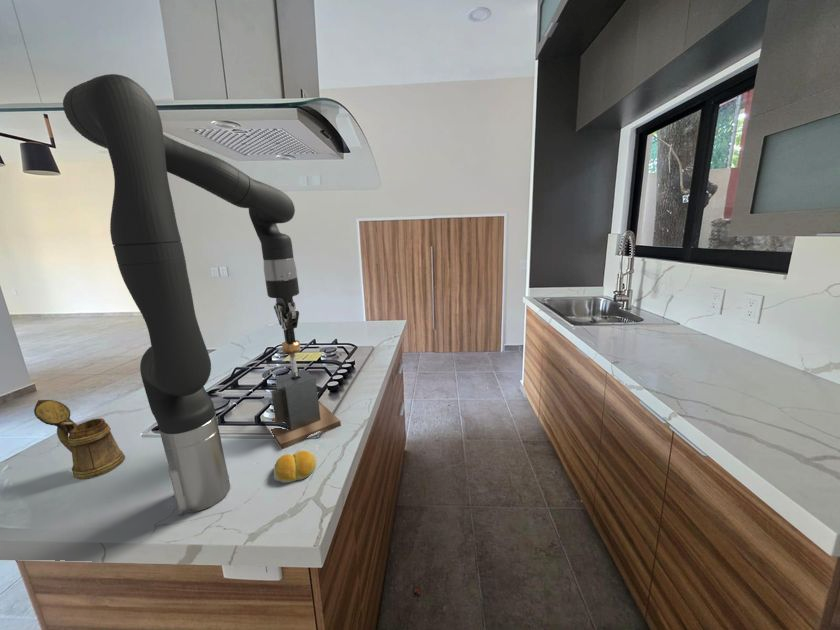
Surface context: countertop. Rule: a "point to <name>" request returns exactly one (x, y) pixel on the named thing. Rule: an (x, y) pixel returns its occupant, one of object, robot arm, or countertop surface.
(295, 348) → the plunger
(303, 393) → the block
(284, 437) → the serving board
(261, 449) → the countertop surface
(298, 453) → the bread roll
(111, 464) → the wooden mug
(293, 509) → the countertop surface
